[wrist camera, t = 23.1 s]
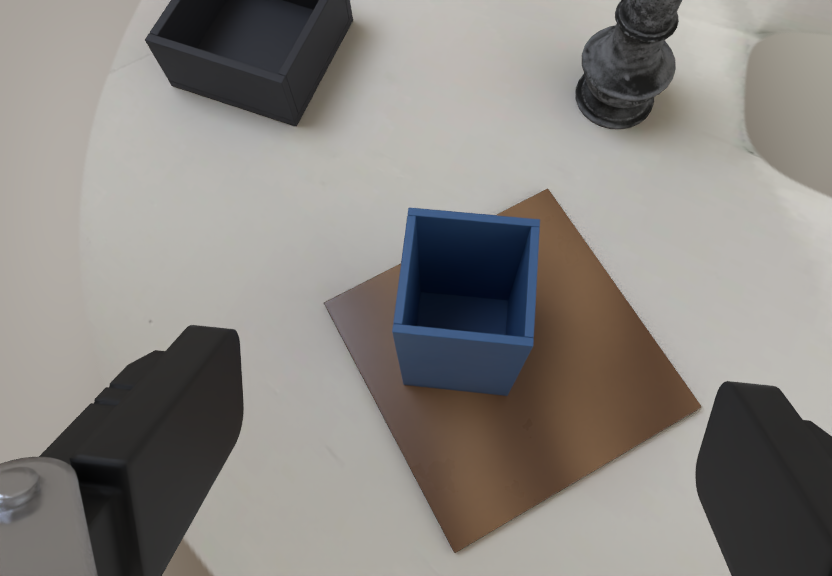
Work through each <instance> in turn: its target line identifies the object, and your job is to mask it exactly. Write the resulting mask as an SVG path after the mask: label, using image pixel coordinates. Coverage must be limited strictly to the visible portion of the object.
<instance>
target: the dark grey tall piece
mask: <svg viewBox="0 0 832 576" xmlns="http://www.w3.org/2000/svg"><path fill="white" fill-rule="evenodd" d="M681 2H682V0H621V2H620V3H619V4H618V6H617V8H616V12H615V19H616V22H617V24H616V26H610V27H608V28H605V29H603V30H600V31H599V32H597V33H596V34H595V35H593V36H592V37H591V38H590V39H589V41H588V42H587V43H586V45H585V47H584V50H583V53H582V67H583V70H584V75H583V76H582V77H581V79H580V80H579V82H578V85H577V87H576V101H577V104H578V107H579V109H580V110H581V112H582V113H583V114H584V115H585V116H586V117H587V118H588V119H589V120H590V121H592V122H594V123H596V124H598V125H599V126H603V127H606V128H610V129H624V128H630V127H632V126H635V125H637V124H639V123H640V122H642V121H643V120H644V119H645V118H646V117H647V116H648V114H649V113H650V112H651V110H652V106H653V103H654V96H656V95H658V94H659V93H661V92H662V91H663V90H665V89H666V88H667V87H668V85H669V84H670V82H671V81H672V79H673V76H674V73H675V69H676V67H675V58H674V55H673V52H672V50H671V48H670V47H669V46H668V44H667V43H666V42H665V39H667V38H668V37H670V36H671V35H672V34H673V33H674V31H675V30H676V28H677V25H678V22H679V21H678V14H677V10H678V8H679V6H680V4H681Z"/></svg>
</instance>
